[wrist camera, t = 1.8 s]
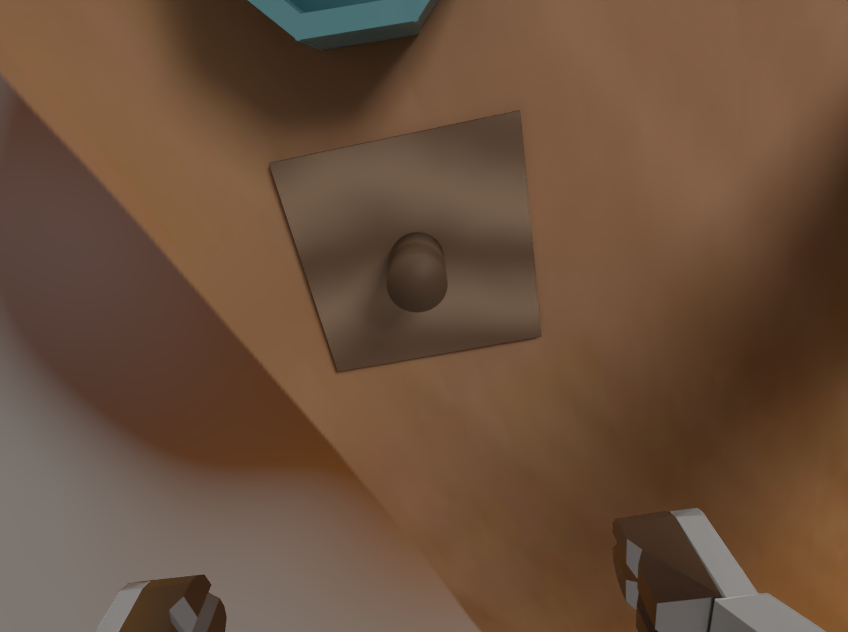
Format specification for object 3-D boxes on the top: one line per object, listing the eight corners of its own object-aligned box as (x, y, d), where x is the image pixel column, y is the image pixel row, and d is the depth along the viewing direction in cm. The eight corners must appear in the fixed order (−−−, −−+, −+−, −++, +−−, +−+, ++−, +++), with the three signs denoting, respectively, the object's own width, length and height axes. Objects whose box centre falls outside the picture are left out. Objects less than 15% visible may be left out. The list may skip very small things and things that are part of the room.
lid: (537, 329, 29) (558, 372, 25) (340, 363, 30) (326, 411, 26) (516, 109, 24) (539, 115, 19) (274, 161, 25) (242, 177, 20)
